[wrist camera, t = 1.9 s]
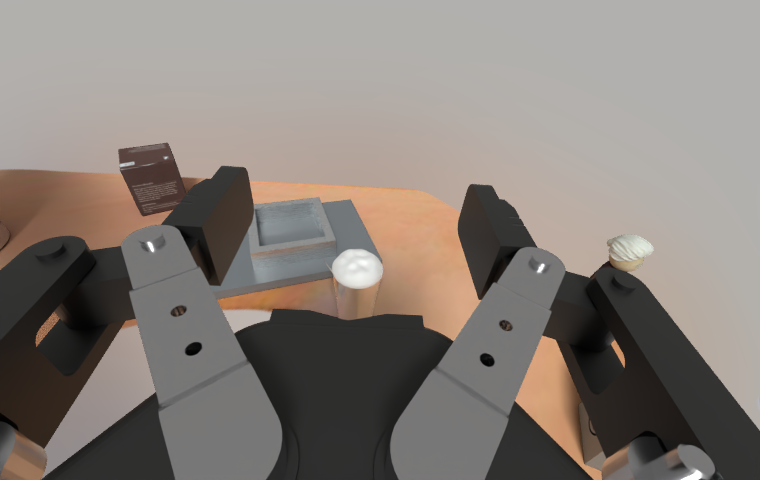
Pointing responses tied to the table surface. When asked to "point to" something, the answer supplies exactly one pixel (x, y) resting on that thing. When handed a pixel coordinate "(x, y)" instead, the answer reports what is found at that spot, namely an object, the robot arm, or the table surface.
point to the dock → (293, 245)
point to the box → (152, 177)
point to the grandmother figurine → (627, 252)
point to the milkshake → (356, 283)
